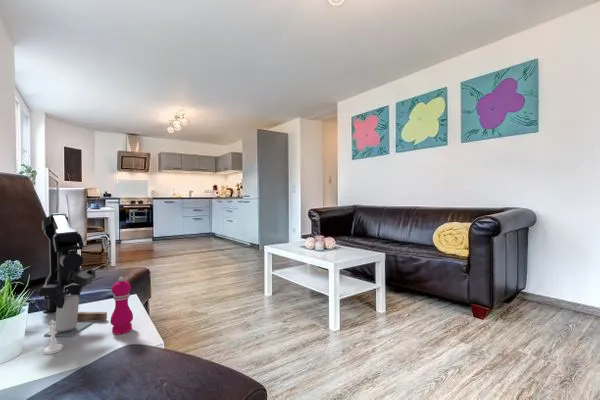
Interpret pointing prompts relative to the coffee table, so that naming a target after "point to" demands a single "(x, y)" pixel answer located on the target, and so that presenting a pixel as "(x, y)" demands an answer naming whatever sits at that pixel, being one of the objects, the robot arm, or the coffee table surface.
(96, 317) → the low wall
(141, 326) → the coffee table surface
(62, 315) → the beverage can
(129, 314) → the pepper mill
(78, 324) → the slate mat
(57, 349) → the chess piece
